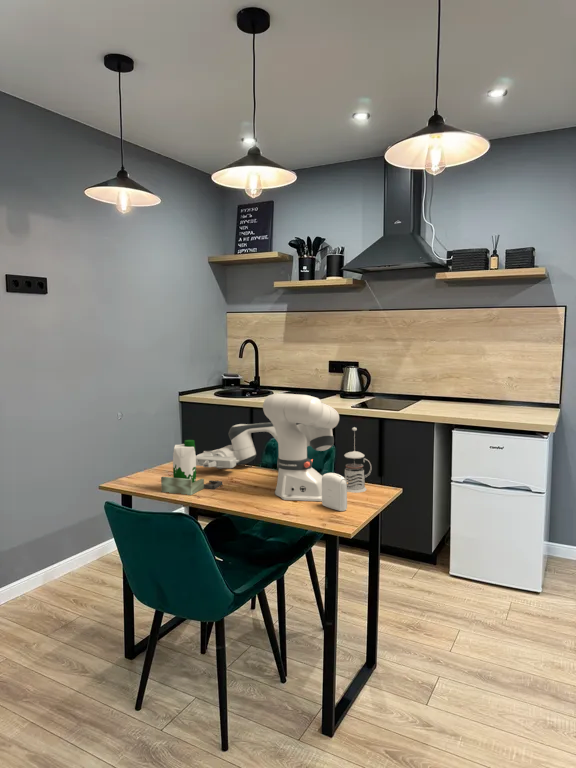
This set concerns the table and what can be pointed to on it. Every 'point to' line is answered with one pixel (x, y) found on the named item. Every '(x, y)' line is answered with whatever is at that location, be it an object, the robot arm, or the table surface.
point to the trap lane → (186, 485)
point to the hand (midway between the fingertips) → (206, 465)
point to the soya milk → (185, 461)
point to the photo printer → (334, 491)
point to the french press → (355, 485)
